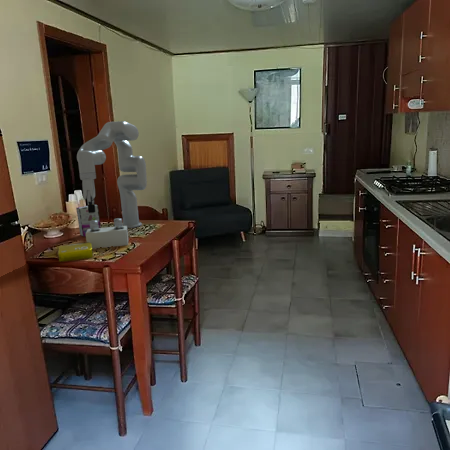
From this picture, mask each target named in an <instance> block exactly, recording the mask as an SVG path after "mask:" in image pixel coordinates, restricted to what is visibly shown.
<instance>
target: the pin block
mask: <svg viewBox="0 0 450 450" xmlns="http://www.w3.org/2000/svg"><path fill="white" fill-rule="evenodd" d="M128 232H129V231H128V228H127V226H123V229H119V230H115V226H109V227H108V226H107V227H101V228H99V231H96V232H91V229H88V230H87V232H86V233H85V234H86V236H85V241H86V242H85V243H88V242H90V243H91V245H92V249H100V247H102V248H110V247H111V246H113V247H121V246H122V247H123V246H128V245H129V233H128ZM111 248H112V247H111Z"/></svg>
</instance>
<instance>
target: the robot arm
mask: <svg viewBox="0 0 450 450" xmlns="http://www.w3.org/2000/svg"><path fill="white" fill-rule="evenodd" d="M139 134H140V132H139V129H138V127H137V126H136V125H134V124H132V123H129V122H127V121H123V120H121V121H119V120H118V121H117V120H116V121H107V122H106V123H104V125H103V126H102V128H101V130H100V131H99V132H98V134H97V136H94V137H93V138H91V139H90V140H87V141H86V142H85V143H83V144H82V145H81V146H80V148H79V150H78V151H77V154H76V161H77V162H78V163H77V164H78V171H79V179H80V180H81V181H82V183H81V185H82V196H83V200H87V206H88V212H89V213H94V212H95V205H96V204H95V197H96V188H95V179H97V173H96V166H98V165H103V164H104V163H105V162H106V160H107V155H106V153H105V151H104V150H106V149H107V150H108V149H109V148H111V147H112V144H113V142H114V144H115V145H116V149H117V156H118V168H119V170H120V171H121V172H122V173H130V174H122V175H119V176H118V178H117V181H116V183H117V188H118V190H119V195H120V196H119V197H120V205H121V215H122V226H127V229H134V228H139V227H141V226H142V225H143V223H142V222H141V221H140V219H139V218H140V217H139V207H138V198H137V194H136V193H135V192H134V191H143V190H145V189H146V188H147V183H148V181H147V178H148V176H147V164H146V160H145V158H144V157H143V156H141V155H134V154H133V146H132V145H131V142H130V141H132V142H133V141H136V140H138V138H139ZM131 173H132V174H131ZM133 173H135V174H133Z"/></svg>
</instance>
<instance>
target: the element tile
mask: <svg viewBox="0 0 450 450" xmlns="http://www.w3.org/2000/svg"><path fill="white" fill-rule="evenodd" d="M93 251H94V250H93V248H92V245H91V243H90V242H88V243H87V242H81V243H73V244H66V245H60V246H58V251H57V255H58V262H60V263H61V262H70V261H78V260H83V259H84V260H85V259H91V258H93V257H94V252H93Z"/></svg>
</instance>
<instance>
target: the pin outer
mask: <svg viewBox="0 0 450 450" xmlns="http://www.w3.org/2000/svg"><path fill="white" fill-rule="evenodd" d="M90 229H91V232H96V231H99V227H98V220H92V221H90Z"/></svg>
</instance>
